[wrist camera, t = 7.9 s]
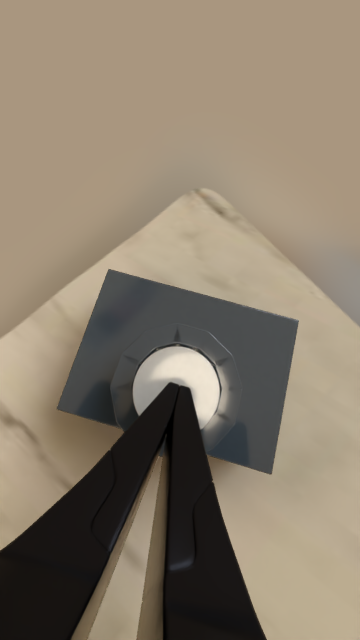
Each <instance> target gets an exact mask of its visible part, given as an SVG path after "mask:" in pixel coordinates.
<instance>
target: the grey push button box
mask: <svg viewBox="0 0 360 640" xmlns="http://www.w3.org/2000/svg"><path fill="white" fill-rule="evenodd" d="M298 322H299V321H298V320H296V319H292V318H288V317H285V316H281V315H277V314H273V313H270V312H266V311H262V310H259V309H255V308H251V307H248V306H244V305H240V304H236V303H233V302H229V301H225V300H222V299H218V298H214V297H211V296H207V295H203V294H199V293H196V292H192V291H188V290H185V289H181V288H177V287H174V286H170V285H166V284H162V283H159V282H155V281H151V280H148V279H144V278H140V277H137V276H133V275H129V274H125V273H122V272H118V271H114V270H111V269H109V270H108V272H107V275H106V277H105V280H104V283H103V285H102V288H101V291H100V293H99V296H98V299H97V301H96V304H95V307H94V309H93V312H92V315H91V318H90V320H89V323H88V326H87V328H86V331H85V334H84V336H83V339H82V342H81V344H80V347H79V350H78V352H77V355H76V358H75V360H74V363H73V366H72V369H71V371H70V374H69V377H68V379H67V382H66V385H65V387H64V390H63V393H62V395H61V398H60V401H59V403H58V406H57V409H58V410H61V411H64V412H67V413H70V414H74V415H77V416H80V417H84V418H87V419H90V420H93V421H97V422H100V423H103V424H107V425H110V426H113V427H116V428H120V429H122V430H123V431H124V432H125V431H126V430H127V429H128V428H129V427H130V426H131V425H132V424H133V422H134V421H135V420H136V419H137V418H138V417H139V415H138V413H137V411H136V409H135V406H134V402H133V383H134V379H135V376H136V373H137V371H138V369H139V367H140V366H141V365H142V363H143V362H144V361H145V360H146V359H147V358H148V357H149V356H150V355H152V354H153V353H155V352H156V351H159V350H161V349H164V348H167V347H176V346H178V347H185V348H189V349H192V350H194V351H196V352H198V353H200V354H201V355H203V356H204V357H205V358H206V359H207V360H208V361H209V362H210V364H211V365H212V367H213V368H214V370H215V372H216V374H217V377H218V380H219V385H220V398H219V403H218V407H217V410H216V412H215V414H214V416H213V417H212V419H211V420H210V421H209V423H208V424H207V425H206V426H205V427H204V428H202V429H201V434H202V438H203V442H204V446H205V450H206V454H207V455H208V456H211V457H215V458H218V459H221V460H225V461H228V462H231V463H234V464H238V465H241V466H244V467H248V468H251V469H254V470H257V471H261V472H264V473H267V474H272V469H273V464H274V458H275V452H276V447H277V441H278V435H279V430H280V424H281V418H282V413H283V407H284V401H285V396H286V390H287V384H288V379H289V373H290V367H291V362H292V356H293V350H294V345H295V339H296V333H297V328H298ZM165 438H166V437H165ZM164 443H165V440H164ZM164 443H163V446H162V449H161V451H160V454H159V456H160V457H162V456H163V449H164Z"/></svg>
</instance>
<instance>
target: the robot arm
mask: <svg viewBox="0 0 360 640" xmlns="http://www.w3.org/2000/svg"><path fill="white" fill-rule="evenodd" d="M165 437H166V438H165ZM164 440H165V443H164ZM163 443H164V449H163V456H162V463H161V471H160V478H159V485H158V492H157V499H156V506H155V513H154V520H153V527H152V534H151V541H150V548H149V555H148V562H147V569H146V576H145V583H144V590H143V597H142V601H143V602H142V604H141V611H140V618H139V625H138V632H137V639H136V640H267V639H266V637H265V634H264V632H263V630H262V628H261V625H260V623H259V620H258V618H257V615H256V613H255V610H254V607H253V605H252V602H251V599H250V596H249V593H248V590H247V588H246V585H245V582H244V579H243V576H242V573H241V570H240V567H239V565H238V562H237V559H236V556H235V553H234V550H233V547H232V544H231V541H230V538H229V535H228V532H227V529H226V526H225V523H224V520H223V517H222V513H221V509H220V506H219V502H218V498H217V495H216V490H215V486H214V483H213V482H212V481H213V479H212V475H211V470H210V466H209V462H208V458H207V454H206V450H205V446H204V442H203V438H202V434H201V430H200V425H199V421H198V417H197V413H196V409H195V405H194V401H193V397H192V393H191V389H190V388H189V387H187V386H183V385H180V386H179V384H176V383H173V382H169V383H168V384H167V385H166V386H165V387H164V389H163V390H162V391H161V392H160V393H159V394H158V395H157V396H156V398H155V399H154V400H153V401H152V402H151V403H150V404H149V405H148V407H147V408H146V409H145V410H144V411H143V412H142V413H141V415H140V416H139V417H138V418H137V419H136V420H135V421H134V422H133V424H132V425H131V426H130V427H129V428H128V429H127V430H126V431H125V433H124V434H123V435H122V436H121V437H120V438H119V439H118V440H117V442H116V443H115V444H114V445H113V446H112V447H111V449H110V450H108V452H107V453H106V454H105V455H104V456H103V457H102V458H101V459H100V460H99V462H98V463H97V464H96V465H95V466H94V467H93V468H92V469H91V470H90V471H89V472H88V473H87V474H86V475H85V476H84V477H83V478H82V479H81V480H80V481H79V482H78V483H77V484H76V485H75V486H74V487H73V488H72V489H71V490H69V491H68V492H67V493H66V494H65V495H64V496H63V497H62V498H61V499H60V500H59V501H57V502H56V503H55V504H54V505H53V506H52V507H51V508H50V509H49V510H48V511H46V512H45V513H44V514H43V515H42V516H41V517H40V518H39V519H38V520H37V521H36V522H34V523H33V524H32V525H31V526H30V527H29V528H28V529H27V530H25V531H24V532H23V533H22V534H21V535H20V536H18V537H17V538H16V539H15V540H14V541H12V542H11V543H10V544H8V545H7V546H6V547H5V548H3V549H2V550H1V551H0V640H87V639H88V636H89V633H90V631H91V628H92V626H93V623H94V621H95V618H96V616H97V613H98V610H99V608H100V605H101V603H102V600H103V598H104V595H105V592H106V589H107V587H108V585H109V582H110V580H111V577H112V574H113V572H114V569H115V567H116V564H117V562H118V559H119V556H120V554H121V551H122V549H123V546H124V544H125V541H126V539H127V536H128V533H129V531H130V528H131V526H132V523H133V521H134V518H135V515H136V513H137V510H138V508H139V505H140V503H141V500H142V497H143V495H144V492H145V490H146V487H147V485H148V482H149V479H150V477H151V474H152V472H153V469H154V467H155V464H156V462H157V459H158V456H159V454H160V451H161V449H162V446H163Z"/></svg>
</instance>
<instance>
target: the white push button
mask: <svg viewBox="0 0 360 640" xmlns="http://www.w3.org/2000/svg"><path fill="white" fill-rule="evenodd" d="M169 382H173V383H176V384H179V386H180V385H183V386H187V387H189V388H190V389H191V393H192V397H193V401H194V405H195V409H196V413H197V417H198V421H199V425H200V430H201V429H202V428H204V427H205V426H206V425H207V424H208V423H209V421H210V420H211V419H212V417H213V416H214V414H215V412H216V410H217V407H218V403H219V398H220V385H219V380H218V377H217V374H216V372H215V370H214V368H213V367H212V365H211V364H210V362H209V361H208V360H207V359H206V358H205V357H204V356H203V355H201V354H200V353H198V352H196V351H194V350H192V349H189V348H185V347H178V346H176V347H167V348H164V349H161V350H159V351H156V352H155V353H153V354H152V355H150V356H149V357H148V358H147V359H146V360H145V361H144V362H143V363H142V365H141V366H140V367H139V369H138V371H137V373H136V376H135V379H134V383H133V402H134V406H135V409H136V411H137V413H138V415H139V416H140V415H141V413H142V412H143V411H144V410H145V409H146V408H147V407H148V405H149V404H150V403H151V402H152V401H153V400H154V399H155V398H156V396H157V395H158V394H159V393H160V392H161V391H162V390H163V389H164V387H165V386H166V385H167V384H168V383H169Z"/></svg>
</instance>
